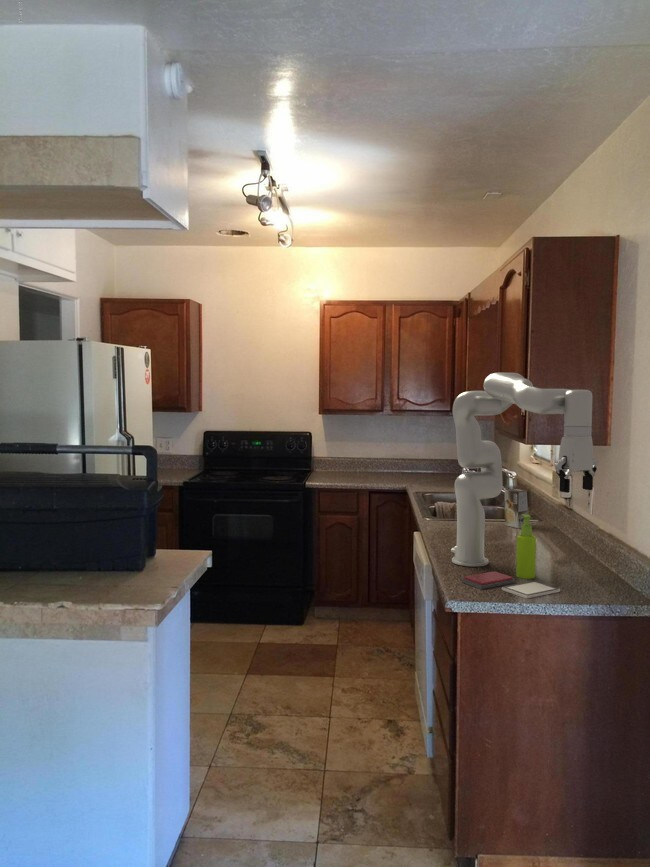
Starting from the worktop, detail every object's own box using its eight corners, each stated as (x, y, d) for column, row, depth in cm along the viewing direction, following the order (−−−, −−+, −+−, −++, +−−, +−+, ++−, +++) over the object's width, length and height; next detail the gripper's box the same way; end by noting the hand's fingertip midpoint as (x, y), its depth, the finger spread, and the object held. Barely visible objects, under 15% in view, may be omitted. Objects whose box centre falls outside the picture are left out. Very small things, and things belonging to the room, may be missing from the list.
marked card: (501, 589, 213) (501, 586, 213) (534, 583, 220) (534, 580, 220) (526, 598, 204) (526, 595, 204) (560, 591, 211) (560, 588, 211)
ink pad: (461, 582, 221) (461, 576, 221) (494, 576, 228) (494, 570, 228) (481, 589, 213) (481, 583, 213) (515, 583, 220) (515, 577, 220)
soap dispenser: (531, 573, 232) (532, 513, 231) (537, 578, 225) (538, 517, 224) (513, 572, 232) (514, 513, 231) (518, 578, 225) (519, 517, 224)
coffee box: (529, 527, 307) (529, 490, 306) (518, 528, 304) (518, 492, 303) (514, 523, 315) (515, 488, 314) (503, 525, 312) (504, 489, 311)
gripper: (587, 430, 211) (585, 487, 212) (546, 432, 203) (545, 491, 204) (608, 432, 205) (606, 490, 206) (567, 434, 196) (565, 494, 197)
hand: (576, 490), depth 205 cm, fingers open, 9 cm apart
